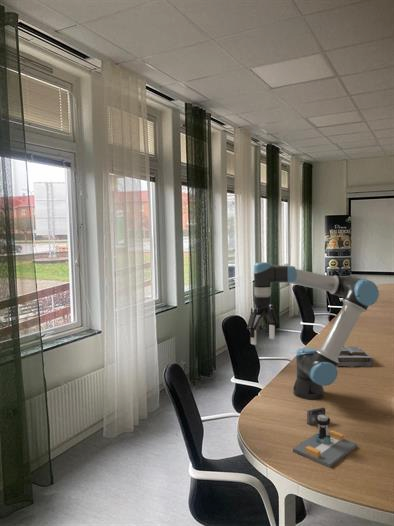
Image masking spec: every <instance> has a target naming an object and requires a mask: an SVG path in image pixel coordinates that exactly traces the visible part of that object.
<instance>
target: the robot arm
mask: <svg viewBox="0 0 394 526" xmlns="http://www.w3.org/2000/svg"><path fill="white" fill-rule="evenodd" d="M253 282H254V283H253V284H254V285H253V286H254V289H253V291H254V292H253V293H254V301H253V302H254V303H253V304H254V305H255V308H254V307H251V309H250V315H249V319H248V322H247V325H246V330H249V334H250V335H249V337H250V344H251V345H253V346H257V330H256V329H257V327H258V324H259V322H260V320H261V319H262V318H263V317H265V318H266V319H267V321H268V323H269V325H268V335H269V336H268V339H269V340H275V339H276V334H275V333H276V326H277V325H278V323H279V320H278V318H277V314H276V311H275V305H274V304H272V300H271V299H272V297H271V295H272V291H271V288H272V284H275V283H276V284H277V283H278V284H279V283H288V284H292V285H297V286H301V287H302V286H303V287H306V288H312V289H316V290H321V291H326V292H329V294H331V295H334V296H338V297H341V298H342V303H343V305H342V307H341V309H340V311H339V313H338V314H337V316H336V319H334V322H333V324H332V326H331V328H330V330H329V332H328V334H327V336H326V338H325V339H324V341H323V343H322V345H321V346H320V348H315V347H314V348H312V347H304V348H298V349H297V350H296V354H295V357H296V361H295V362H296V364H295V365H296V379H295V381H294V384H293V387H292V388H293V389H292V391H293V394H294V396H295V397H297V398H301V399H305V400H316V399H322V398H323V397H324V396H325V389H324V387H326V386H329V385H332V384H333V383H335V381H336V380H337V378H338V369H337V368H338V367H337V366H338V364H339V361H338V356H339V354H340V352H341V350H342V348H343V347H345V345H346V343H347V341H348V339H349V337H350V334H351V333H352V331H353V329H354V327H355V325H356V324H357V321H358V320H359V317H360V316H361V314H363V313H364V312H367V310H368V307H369V306H372V305H375V304H376V303H377V302H378V300H379V296H380V290H379V288H378V286H377V285H376V283H375V282H373V281H372V280H370V279H366V278H360V277H356V276H355V277H354V276H353V277H352V276H339V275H336V274H335V275H333V276H331V275H325V274H323V273H322V274H321V273H317V272H311V271H307V270H303V269H302V270H301V269H299V268H296V266H293V265H280V264H279V265H278V264H275V263H270V262H267V261H265V262H261V261H260V262H259V261H258V262H256V263H254V265H253Z"/></svg>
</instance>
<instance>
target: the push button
mask: <svg viewBox="0 0 394 526" xmlns="http://www.w3.org/2000/svg"><path fill="white" fill-rule="evenodd" d="M330 422H331V418H330V417H328V415H326V414H325V415H318V417H316V423H317V424H316V425H317V433H318V434H317V436H316V438H317V442H320V443H323V444H324V443H325V444H329V443H334V442H331V441H330V440H332V441H334V440H333V439H330V435H329V434H328V433H329V425H330Z"/></svg>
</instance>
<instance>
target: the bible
mask: <svg viewBox="0 0 394 526" xmlns="http://www.w3.org/2000/svg"><path fill="white" fill-rule="evenodd" d="M338 361H339V364H338V366H347V367H348V366H354V367H355V366H356V367H359V366H372V367H373V364H372V363H373V356H371V355H370V354H369V353H367V352H366V351H365V350H363V349H362V348H360V347H358V346H351V345H350V346H349V345H347V346H344V347H343V348H342V350H341V352H340V354H339V356H338Z"/></svg>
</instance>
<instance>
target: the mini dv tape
mask: <svg viewBox="0 0 394 526" xmlns="http://www.w3.org/2000/svg"><path fill="white" fill-rule="evenodd" d="M318 415H326V408H325V407H318V408H315V409H310V410H309V409H308V410H307V411H306V424H307V425H309V426H312V425H318V424H317V423H316V417H318Z"/></svg>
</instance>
